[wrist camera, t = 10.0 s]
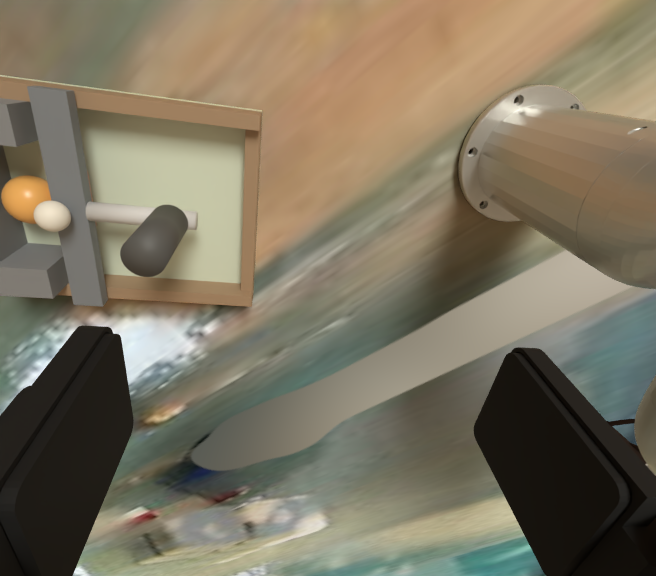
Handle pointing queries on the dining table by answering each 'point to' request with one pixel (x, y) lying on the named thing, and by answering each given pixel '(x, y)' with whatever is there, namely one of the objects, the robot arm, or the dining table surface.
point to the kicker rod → (93, 205)
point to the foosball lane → (142, 192)
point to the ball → (24, 196)
